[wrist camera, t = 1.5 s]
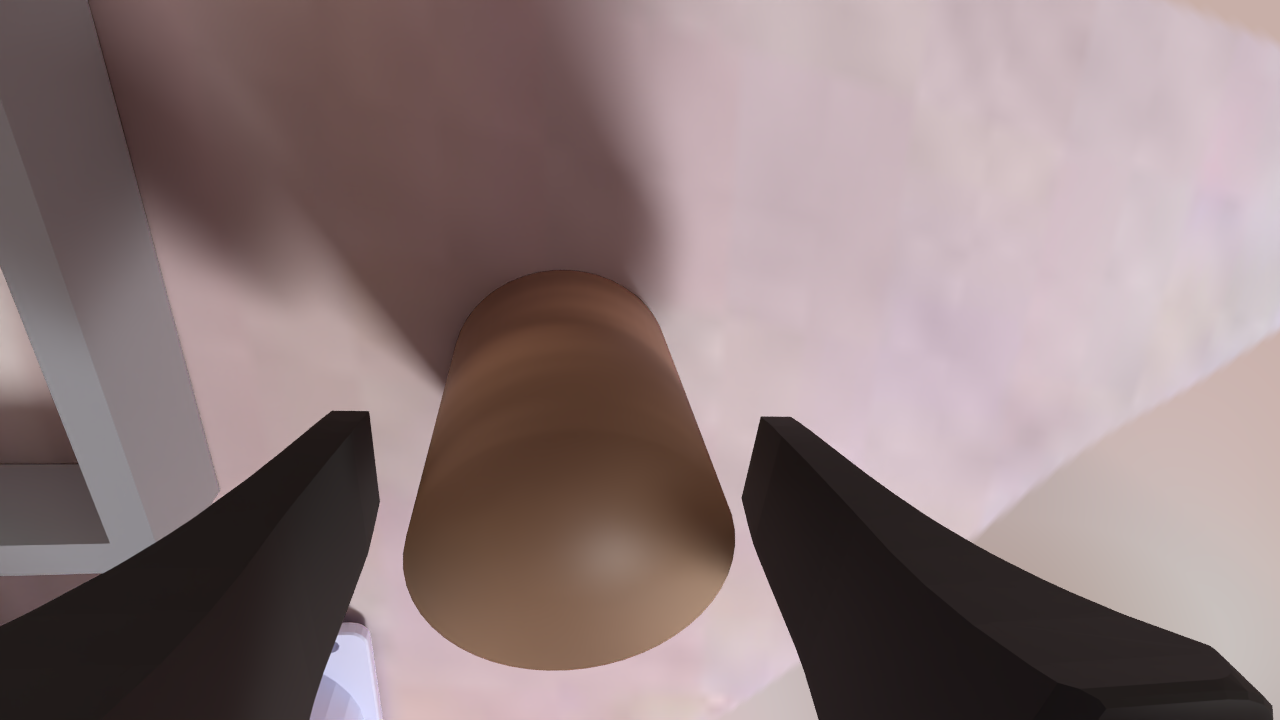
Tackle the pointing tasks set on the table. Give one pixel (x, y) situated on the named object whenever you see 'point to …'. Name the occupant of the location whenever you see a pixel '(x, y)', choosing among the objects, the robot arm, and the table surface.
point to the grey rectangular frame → (88, 311)
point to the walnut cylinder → (565, 484)
